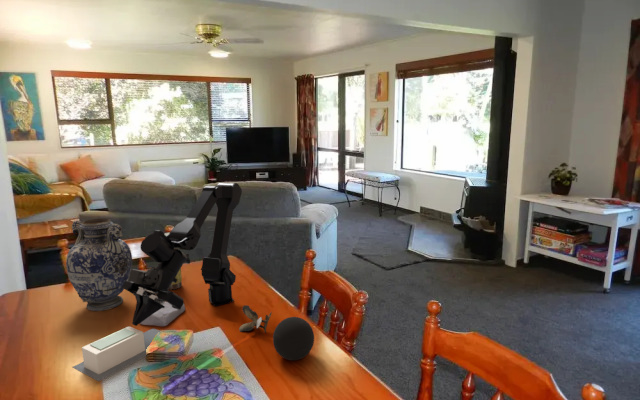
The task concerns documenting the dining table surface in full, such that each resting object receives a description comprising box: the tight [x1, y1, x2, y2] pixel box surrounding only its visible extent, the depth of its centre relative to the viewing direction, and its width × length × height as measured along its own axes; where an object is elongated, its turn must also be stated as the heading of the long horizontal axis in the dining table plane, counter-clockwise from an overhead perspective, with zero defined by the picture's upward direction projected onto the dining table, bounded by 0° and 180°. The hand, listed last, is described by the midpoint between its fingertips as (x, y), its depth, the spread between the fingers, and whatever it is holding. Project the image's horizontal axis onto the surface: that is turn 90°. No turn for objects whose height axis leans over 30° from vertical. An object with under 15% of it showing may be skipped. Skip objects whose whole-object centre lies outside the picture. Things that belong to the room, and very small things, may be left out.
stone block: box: [139, 302, 186, 327], centre depth 123 cm, size 12×5×10 cm
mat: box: [72, 327, 161, 382], centre depth 103 cm, size 22×11×1 cm, turn 148°
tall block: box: [81, 326, 145, 374], centre depth 100 cm, size 5×6×12 cm
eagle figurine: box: [238, 304, 272, 333], centre depth 114 cm, size 8×7×9 cm
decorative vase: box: [65, 217, 133, 312], centre depth 132 cm, size 21×19×28 cm
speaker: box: [272, 316, 315, 361], centre depth 100 cm, size 10×10×10 cm
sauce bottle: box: [164, 232, 183, 291], centre depth 146 cm, size 6×6×20 cm
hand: (134, 324), depth 104 cm, fingers closed
